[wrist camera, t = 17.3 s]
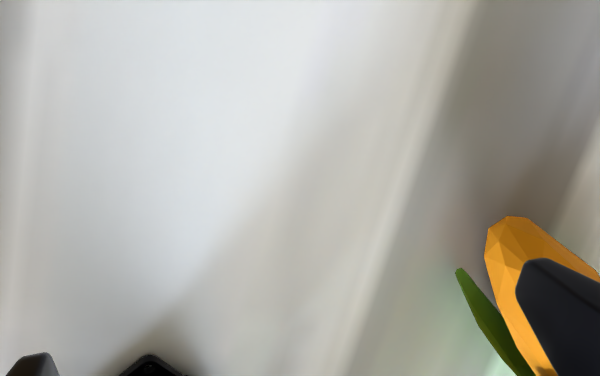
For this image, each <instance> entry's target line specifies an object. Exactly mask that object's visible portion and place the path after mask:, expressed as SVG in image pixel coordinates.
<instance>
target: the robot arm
mask: <svg viewBox="0 0 600 376" xmlns="http://www.w3.org/2000/svg"><path fill="white" fill-rule="evenodd" d="M515 296H516V300H517V302H518V304H519V306H520V308H521V310H522V311H523V313H524V315H525V317H526V319H527V321H528V323H529V324H530V326H531V328H532V330H533V332H534V334H535V336H536V338H537V339H538V341H539V343H540V345H541V347H542V349H543V351H544V353H545V354H546V356H547V358H548V360H549V361H550V363H551V365H552V367H553V368H554V370H555V372H556V373H557V375H558V376H600V282H597V281H595V280H593V279H591V278H589V277H587V276H585V275H583V274H581V273H578V272H576V271H574V270H572V269H570V268H568V267H566V266H564V265H561V264H559V263H557V262H555V261H553V260H551V259H548V258H537V259H531V260H528V261H526V262H525V263H524V264H523V267H522V270H521V273H520V275H519V278H518V281H517V284H516V287H515ZM147 365H152V366H150V367H146V366H147ZM6 376H60V375H59V373H58V371H57V368H56V366H55V363H54V361H53V359H52V357H51V355H50V354H49V353H47V352H46V353H45V352H43V353H38V354H33V355H27V356H24V357H22V358H20V359H19V360H18V361H17V362H16V363H15V365H14V366H13V367H12V368H11V370H10V371H9V372H8V373H7V375H6ZM119 376H187V375H183V374H181V373H180V372H178V371H177V370H175V369H174V368H172V367H171V366H170V365H168V364H167V363H165V362H164V361H162V360H161V359H159V358H158V357H156V356H154V355H147V356H144V357H142V358H141V359H139V360H138V361H137V362H136V363H134V364H133V365H132V366H131V367H129V368H128V369H127V370H126V371H124V372H123V373H122V374H121V375H119Z"/></svg>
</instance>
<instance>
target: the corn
mask: <svg viewBox="0 0 600 376" xmlns="http://www.w3.org/2000/svg"><path fill="white" fill-rule="evenodd" d="M484 258H485V262H486V267H487V271H488V274H489V278H490V281H491V285H492V288H493V292H494V295H495V299H496V302H497V305H498V307H499V309H500V311H501V314H502V315H501V314H500V313H499V312H498V311H497V309H496V308H495V307H494V306H493V305H492V303H491V302H490V301H489V300H488V299H487V298H486V296H485V295H484V294H483V293H482V292H481V290H480V289H479V288H478V287H477V286H476V284H475V283H474V282H473V280H472V279H471V278H470V277H469V275H468V274H467V273H466V272H465V271H464V270H463V269H462V268H459V269H457V270H456V272H455V274H456V277H457V279H458V282H459V284H460V286H461V288H462V291H463V293H464V295H465V297H466V300H467V302H468V304H469V306H470V308H471V311H472V313H473V315H474V317H475V319H476V321H477V324H478V326H479V327H480V329H481V330H482V331H483V333H484V334H485V336H486V337H487V339H488V340H489V341H490V343H491V344H492V346H493V347H494V348H495V350H496V351H497V353H498V354H499V355H500V357H501V358H502V360H503V361H504V362H505V363H506V364H507V365H508V366H509V367H510V368H511V369H512V371H513V372H514V373H515V374H516V375H517V376H558V375H557V373H556V372H555V370H554V368H553V367H552V365H551V363H550V361H549V360H548V358H547V356H546V354H545V353H544V351H543V349H542V347H541V345H540V343H539V341H538V339H537V338H536V336H535V334H534V332H533V330H532V328H531V326H530V324H529V323H528V321H527V319H526V317H525V315H524V313H523V311H522V310H521V308H520V306H519V304H518V302H517V300H516V296H515V287H516V284H517V281H518V278H519V275H520V273H521V270H522V267H523V264H524V263H525V262H526V261H528V260H531V259H537V258H548V259H551V260H553V261H555V262H557V263H559V264H561V265H564V266H566V267H568V268H570V269H572V270H574V271H576V272H578V273H581V274H583V275H585V276H587V277H589V278H591V279H593V280H595V281H597V282H600V276H599V275H598V273H597V272H596V270H594V269H593V268H592V267H590V266H589V265H588V264H586V263H585V262H584V261H583V260H581V259H580V258H579V257H577V256H576V255H575V254H573V253H572V252H571V251H569V250H568V249H567V248H566V247H564V246H563V245H562V244H560V243H559V242H558V241H556V240H555V239H554V238H553V237H551V236H550V235H549V234H547V233H546V232H545V231H543V230H542V229H541V228H540V227H538V226H537V225H536V224H534V223H533V222H532V221H530V220H529V219H528V218H524V217H514V216H506V217H505V218H503V219H502V220H500V221H499V222H497V223H495V224H494V225H492V226H491V227H490V228H488V235H487V241H486V247H485V253H484Z"/></svg>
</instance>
